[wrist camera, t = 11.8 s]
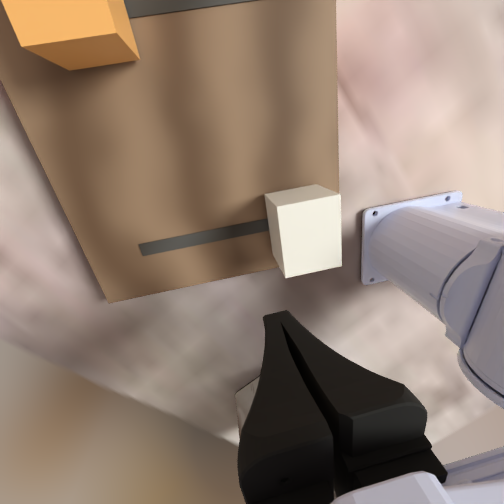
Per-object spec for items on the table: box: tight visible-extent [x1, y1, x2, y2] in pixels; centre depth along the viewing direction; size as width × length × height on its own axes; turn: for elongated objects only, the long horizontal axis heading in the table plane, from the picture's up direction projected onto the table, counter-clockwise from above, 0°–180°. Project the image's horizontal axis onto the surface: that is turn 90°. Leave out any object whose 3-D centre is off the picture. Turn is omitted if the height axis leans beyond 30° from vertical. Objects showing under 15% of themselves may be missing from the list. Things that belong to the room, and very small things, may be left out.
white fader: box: [264, 184, 342, 278], centre depth 18 cm, size 4×5×4 cm
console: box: [0, 0, 339, 303], centre depth 18 cm, size 20×23×2 cm
